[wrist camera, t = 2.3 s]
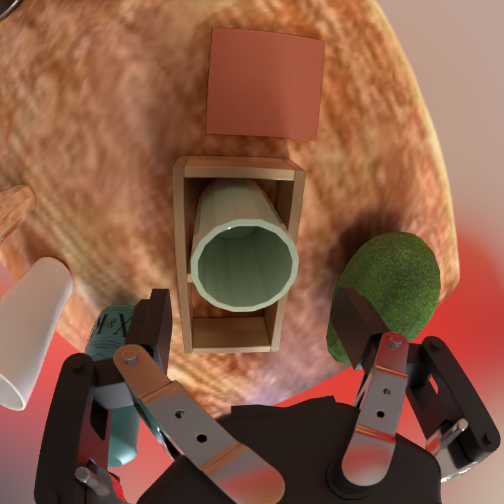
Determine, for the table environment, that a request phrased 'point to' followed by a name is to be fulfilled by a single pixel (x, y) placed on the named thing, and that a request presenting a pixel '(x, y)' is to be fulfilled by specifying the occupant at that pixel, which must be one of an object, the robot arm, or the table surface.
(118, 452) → the beverage bottle
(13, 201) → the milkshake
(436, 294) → the fruit
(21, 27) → the table surface
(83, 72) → the table surface
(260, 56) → the coaster mat
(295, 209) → the brown wooden shelf
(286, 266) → the cup
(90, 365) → the robot arm
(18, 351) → the drinking glass
